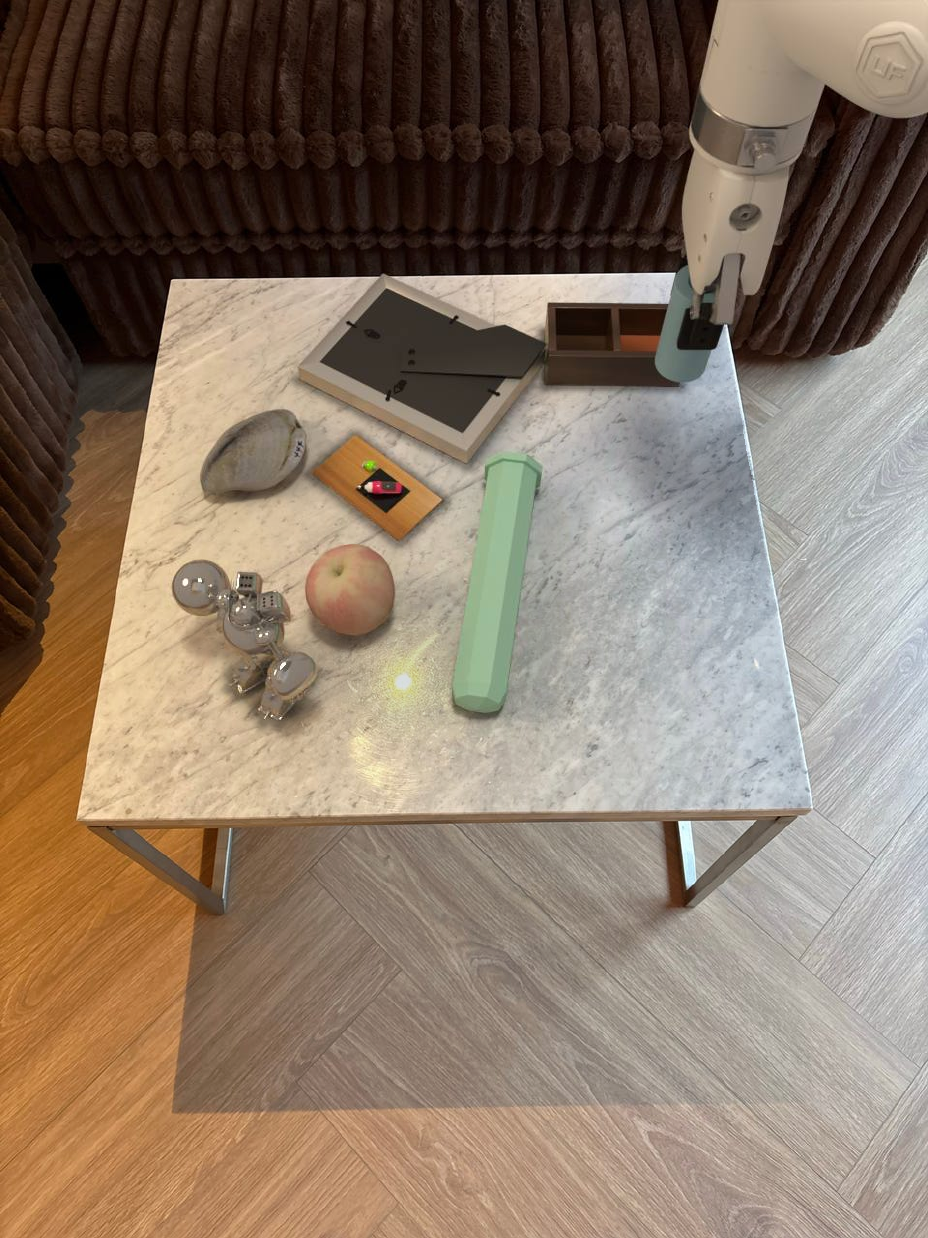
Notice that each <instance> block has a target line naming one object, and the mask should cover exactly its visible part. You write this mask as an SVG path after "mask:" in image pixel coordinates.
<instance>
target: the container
mask: <svg viewBox="0 0 928 1238" xmlns="http://www.w3.org/2000/svg"><path fill="white" fill-rule="evenodd" d="M484 462H485V463H484V478H483V479H484V481H485V482H486V483H485V490H484V497H483V502H482V506H481V513H480V519H479V524H478V529H477V530H478V531H477V537H476V543H475V547H474V555H473V560H472V566H471V573H470V577H469V583H468V590H467V596H466V602H465V606H464V607H465V608H464V612H463V619H462V624H461V631H460V636H459V643H458V649H457V654H456V661H455V666H454V672H453V679H452V684H451V685H452V686H451V687H452V695H453V699H454V703H455V705H457V706H458V707H460V708H462V709H464V710H467V711H469V712H477V713H483V714H487V713H493V712H496V711H499V710H500V709H501V707H502V706H503V705H504V703H505V702H506V698H507V691H508V684H509V677H510V670H511V663H512V658H513V657H512V656H513V651H514V650H513V649H514V642H515V635H516V628H517V622H518V621H517V620H518V614H519V607H520V601H521V593H522V586H523V579H524V573H525V565H526V560H527V559H526V558H527V550H528V543H529V537H530V536H529V535H530V529H531V523H532V515H533V508H534V501H535V495H536V489H538V488H540V487H541V483H542V477H543V468H544V467H543V465H542V464H541V463H540V462H538V461H537V460H536V459H535V458H533V457H532V456H531V455H529V454H528V453H523V452H514V451H508V450H502V451H500V452H498V453H496V454H494V455H492V456H490V457H487V458H485V461H484Z"/></svg>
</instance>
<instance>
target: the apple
mask: <svg viewBox="0 0 928 1238" xmlns="http://www.w3.org/2000/svg"><path fill="white" fill-rule="evenodd" d="M395 586H396V585H395V580H394V577H393V572H392V570H391V568H390V565H389V564H388V562H387V561H386V560H385V559H384V557H383V556H382V555H381V554H379V552H377V551H376V550H374V549H372V548H370V547H368V546H366V545H363V544H358V543H349V544H343V545H339V546H336V547H333V548H332V549H329V550H327V551H325V553H323V554H321V556H319V557H318V558H317V559H316V561H314V563H313V564H312V565H311V567H310V569H309V571H308V574H307V576H306V579H305V585H304V589H305V590H304V594H305V599H306V603H307V605H308V607H309V609H310V613H311V614H312V615H313V616H314V617H315V619H317V620H318V621H319V622H320V624H322V625H323V626H325V628H328V629H330V630H331V631H333V632H336V633H339V634H343V635H349V636H360V635H363V634H367V633H370V632H371V631H373V630H375V629H376V628H378V627H379V626H380V625H381V624H382V623H384V622H385V621H386V620H387V619H388V618H389V616H390V615H391V613H392V611H393V608H394V604H395V599H396V587H395Z"/></svg>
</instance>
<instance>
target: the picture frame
mask: <svg viewBox="0 0 928 1238" xmlns="http://www.w3.org/2000/svg"><path fill="white" fill-rule="evenodd" d="M546 344H547V343H545V341H543V340H540V339H538V338H536V337H534V336H532V335H529V334H527V333H525V332H523V331H520V330H519V329H516V328H513V327H512V326H510V325H508V324H501V325H500V324H499V325H496V324H494V323H492V322H489V321H487V320H485V319H483V318H481V317H478V316H476V315H474V314H472V313H470V312H467V311H465V310H463V309H461V308H459V307H457V306H454V305H452V304H450V303H448V302H446V301H444V300H442V299H439V298H437V297H435V296H433V295H430V294H429V293H426V292H425V291H422V290H420V289H418V288H416V287H413V286H411V285H409V284H407V283H405V282H402V281H400V280H398V279H396V278H394V277H391V276H390V275H388V274H385V273H382V274H381V275H379V277H378V278H377V279H376V280H375V281H374V282H373V283H372V284H371V286H369V288H367V290H366V291H365V292H364V293H363V294H362V296H360V297H359V299H358V300H357V301H356V302H355V303H354V304H353V305H352V306H351V307H350V308H349V309H348V311H347V312H346V313H345V314H344V315H343V316H342V317H341V318H340V320H339V321H338V322H337V323H336V324H335V325H334V326H333V327H332V328H331V329H330V330H329V331H328V333H326V334H325V336H324V337H323V338H322V339H321V340H320V341H319V342H318V343H317V344H316V346H314V348H313V349H312V350H311V351H310V352H309V353H308V355H307V356H305V358H304V359H303V360H302V361H301V362H300V363H299V364H298V366H297V369H298V374H299V379H300V380H301V381H302V382H305V383H306V384H308V385H310V386H312V387H314V388H316V389H318V390H320V391H322V392H324V393H326V394H328V395H329V396H330V395H331V396H332V397H334V398H336V399H338V400H340V401H342V402H344V403H345V404H348V405H350V406H352V407H354V408H356V409H357V410H359V411H361V412H363V413H365V414H368V415H369V416H372V417H373V418H375V419H378V420H380V421H381V422H383V423H385V424H387V425H389V426H391V427H393V428H395V429H396V430H398V431H401V432H403V433H404V434H407V435H409V436H410V437H413V438H415V439H417V440H419V441H421V442H423V443H425V444H427V445H429V446H431V447H433V448H434V449H436V450H438V451H440V452H442V453H444V454H446V455H448V456H450V457H452V458H454V459H456V460H458V461H460V462H462V463H465V465H468V463H469V462H470V461H471V459H473V456H475V454H476V453H477V451H478V450H479V449H480V448H481V446H482V445H483V443H484V442H485V441H486V439H487V438H488V437H489V436H490V434H491V433H492V432H493V431H494V429H495V428H496V426H497V425H498V424H499V422H500V421H502V419H503V417H504V416H505V415H506V413H507V412H508V411H509V410H510V408H511V407H512V406H513V404H514V403H515V402H516V401H517V399H518V398H519V397H520V395H521V394H522V393H523V392H524V390H525V388H526V387H528V385H529V384H530V383H531V381H532V380H533V378H534V377H535V376H536V374H537V373H538V372H539V370H540V369H541V368H542V366H543V365H545V354H546V348H545V346H546Z"/></svg>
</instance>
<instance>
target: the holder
mask: <svg viewBox="0 0 928 1238" xmlns="http://www.w3.org/2000/svg"><path fill="white" fill-rule="evenodd" d="M668 305H669V303H648V302H647V303H646V302H645V303H642V302H641V303H640V302H638V303H636V302H633V303H630V302H558V301H557V302H556V301H555V302H554V301H552V302H551V301H549V302H547V304H546V313H545V324H544V342H545V343H547V344H546V346H545V347H544V348H546V354H545V362H544V365H545V366H544V367H545V369H544V370H545V386H593V387H594V386H599V387H600V386H601V387H607V386H608V387H670V388H672V387H674V388H676V387H678V388H679V387H680V384H681V382H675V381H671V380H669V379H667V378H665V377H664V376H662V375H661V374H660V373H659V371H658V370H657V368H656V365H655V356H656V352H657V348H658V344H659V340H660V336H661V332H662V328H663V324H664V320H665V316H666V312H667V309H668Z"/></svg>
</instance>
